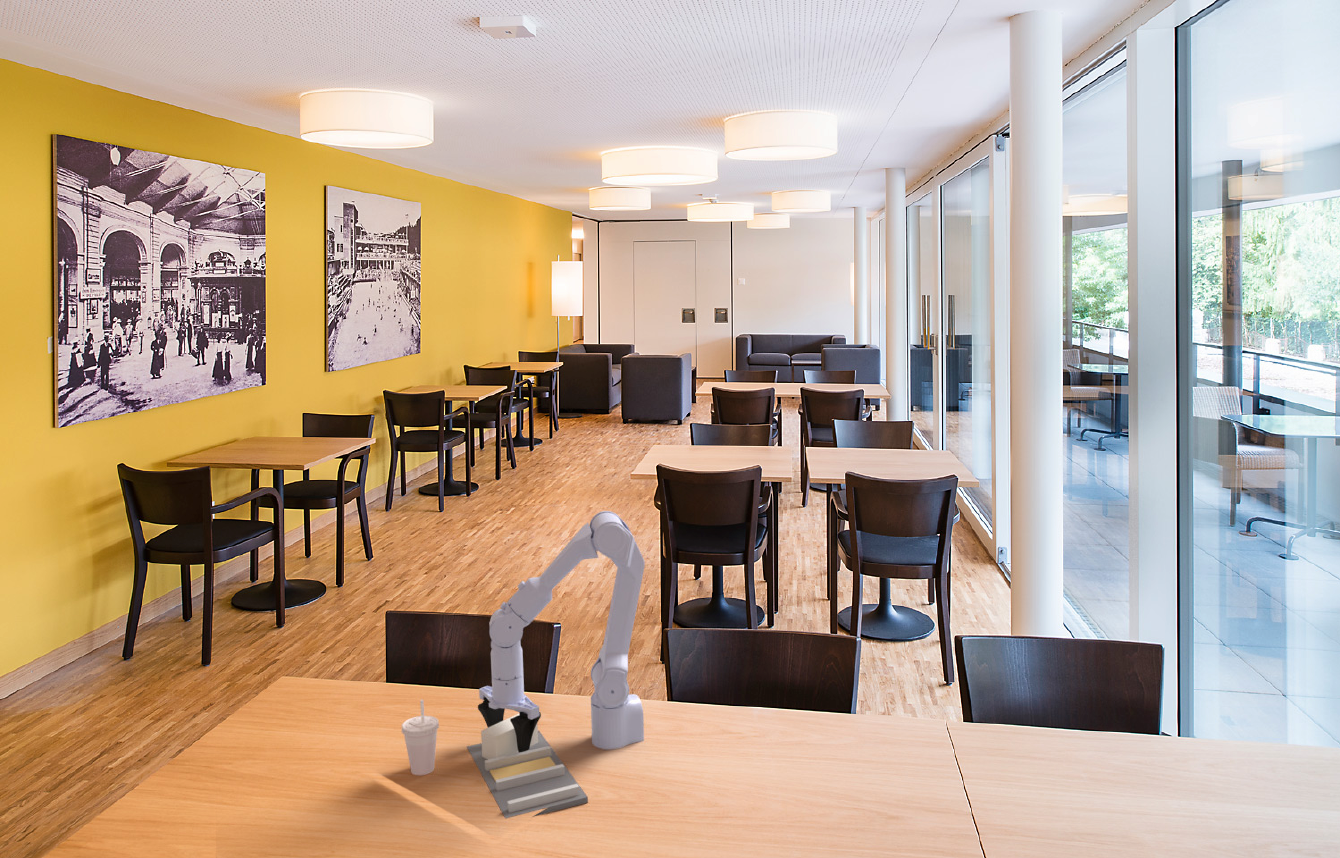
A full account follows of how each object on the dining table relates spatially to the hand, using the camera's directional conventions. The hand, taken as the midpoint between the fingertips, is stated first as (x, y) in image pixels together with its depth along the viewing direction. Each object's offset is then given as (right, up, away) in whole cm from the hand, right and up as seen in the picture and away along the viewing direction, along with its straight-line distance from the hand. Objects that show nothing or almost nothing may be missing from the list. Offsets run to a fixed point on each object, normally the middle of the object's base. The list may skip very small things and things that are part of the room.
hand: (510, 744), depth 168 cm
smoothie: (-14, -3, -7) cm, 16 cm away
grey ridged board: (+4, -3, -7) cm, 9 cm away
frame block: (0, -1, 0) cm, 1 cm away
